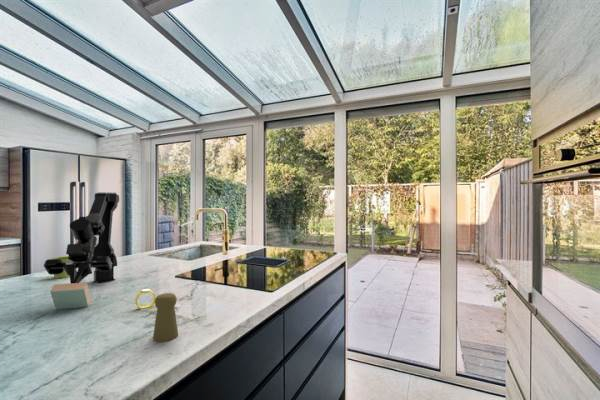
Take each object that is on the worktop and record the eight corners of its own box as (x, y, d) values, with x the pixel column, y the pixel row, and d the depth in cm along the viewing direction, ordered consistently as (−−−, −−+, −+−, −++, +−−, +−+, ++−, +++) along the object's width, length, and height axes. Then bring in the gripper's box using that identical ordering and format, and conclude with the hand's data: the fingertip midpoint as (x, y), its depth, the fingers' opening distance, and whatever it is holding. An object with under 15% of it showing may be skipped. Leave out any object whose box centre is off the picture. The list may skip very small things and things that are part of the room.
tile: (59, 302, 102) (54, 284, 98) (90, 299, 104) (86, 282, 101) (55, 309, 99) (50, 291, 95) (88, 306, 102) (84, 289, 98)
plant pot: (80, 275, 144) (80, 256, 144) (59, 280, 135) (59, 260, 135) (66, 273, 147) (66, 255, 147) (44, 278, 138) (44, 259, 138)
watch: (153, 305, 104) (155, 287, 104) (155, 307, 102) (157, 289, 102) (134, 308, 100) (135, 289, 101) (135, 310, 98) (137, 291, 98)
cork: (158, 331, 83) (158, 291, 83) (181, 331, 83) (181, 290, 83) (149, 342, 77) (149, 298, 77) (173, 341, 77) (174, 297, 77)
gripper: (46, 235, 103) (28, 275, 92) (109, 233, 109) (100, 271, 98) (56, 254, 110) (41, 294, 100) (115, 252, 116) (107, 289, 106)
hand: (72, 286), depth 101 cm, fingers closed
